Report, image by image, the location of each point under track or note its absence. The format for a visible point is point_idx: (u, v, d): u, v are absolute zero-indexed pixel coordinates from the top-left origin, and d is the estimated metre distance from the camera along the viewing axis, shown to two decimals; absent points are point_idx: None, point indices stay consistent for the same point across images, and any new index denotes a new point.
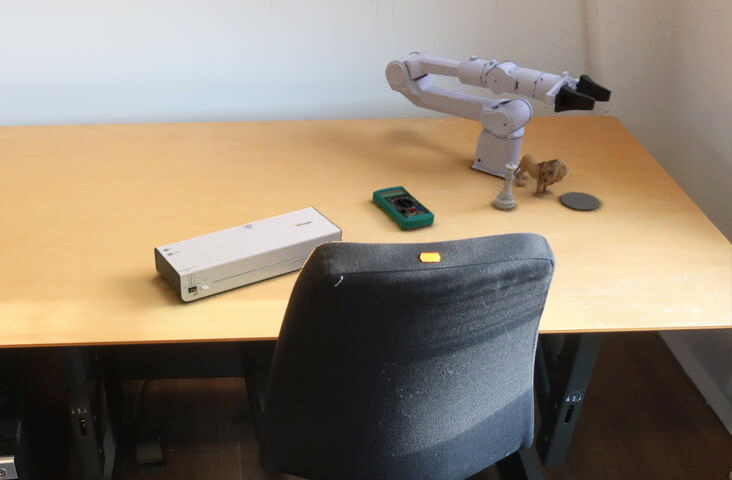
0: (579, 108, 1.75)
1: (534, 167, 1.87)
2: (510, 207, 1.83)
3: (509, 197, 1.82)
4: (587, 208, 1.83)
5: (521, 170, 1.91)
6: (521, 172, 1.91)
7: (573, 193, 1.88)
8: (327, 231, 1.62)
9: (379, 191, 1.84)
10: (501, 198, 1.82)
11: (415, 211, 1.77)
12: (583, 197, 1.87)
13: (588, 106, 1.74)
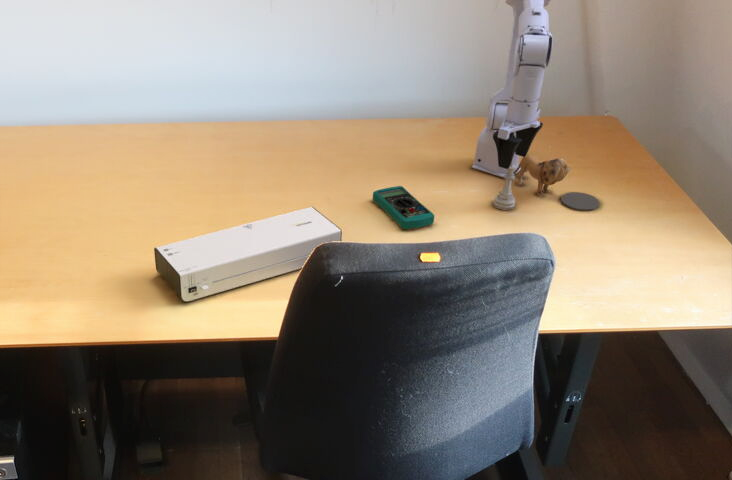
0: (498, 155, 1.74)
1: (535, 166, 1.87)
2: (510, 207, 1.83)
3: (509, 197, 1.82)
4: (587, 208, 1.83)
5: (522, 170, 1.91)
6: (522, 172, 1.91)
7: (573, 193, 1.88)
8: (327, 231, 1.62)
9: (379, 191, 1.84)
10: (501, 198, 1.82)
11: (415, 211, 1.77)
12: (583, 197, 1.87)
13: (501, 163, 1.75)
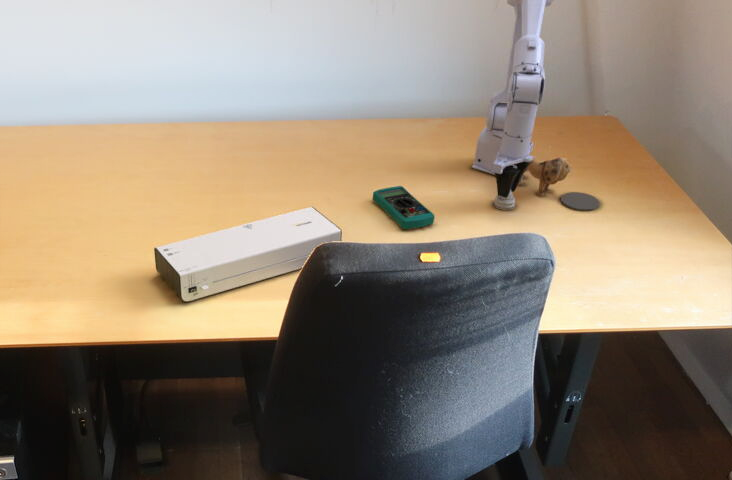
0: (497, 184, 1.80)
1: (537, 166, 1.87)
2: (510, 207, 1.83)
3: (509, 197, 1.82)
4: (587, 208, 1.83)
5: None
6: None
7: (573, 193, 1.88)
8: (327, 231, 1.62)
9: (379, 191, 1.84)
10: (501, 198, 1.82)
11: (415, 211, 1.77)
12: (583, 197, 1.87)
13: (500, 192, 1.81)
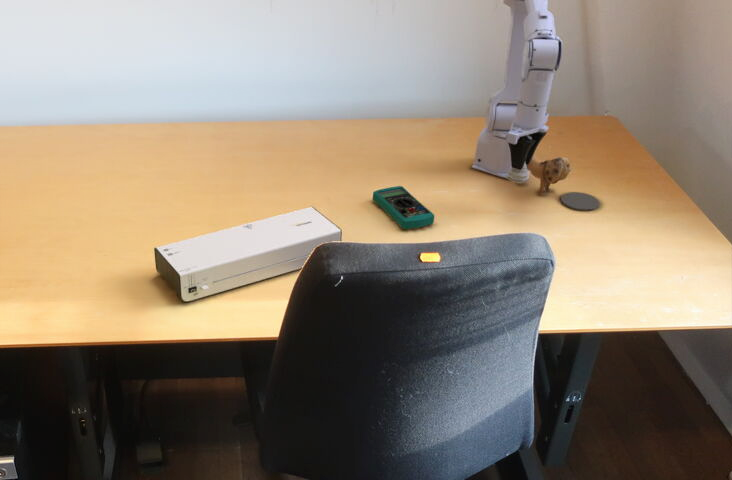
0: (512, 156, 1.75)
1: (537, 166, 1.87)
2: (524, 180, 1.78)
3: (523, 170, 1.77)
4: (587, 208, 1.83)
5: None
6: None
7: (573, 193, 1.88)
8: (327, 231, 1.62)
9: (379, 191, 1.84)
10: (515, 170, 1.77)
11: (415, 211, 1.77)
12: (583, 197, 1.87)
13: (514, 164, 1.76)
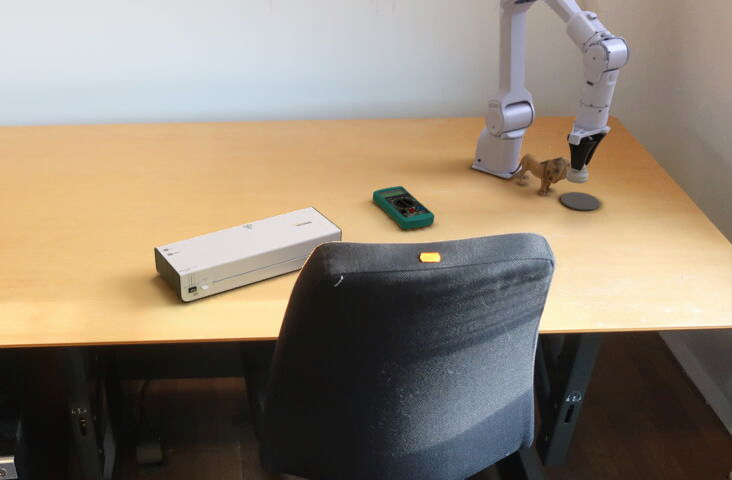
0: (572, 157, 1.75)
1: (538, 166, 1.87)
2: (584, 181, 1.77)
3: (583, 171, 1.77)
4: (587, 208, 1.83)
5: (523, 169, 1.91)
6: (523, 171, 1.91)
7: (573, 193, 1.88)
8: (327, 231, 1.62)
9: (379, 191, 1.84)
10: (575, 171, 1.77)
11: (415, 211, 1.77)
12: (583, 197, 1.87)
13: (574, 165, 1.76)
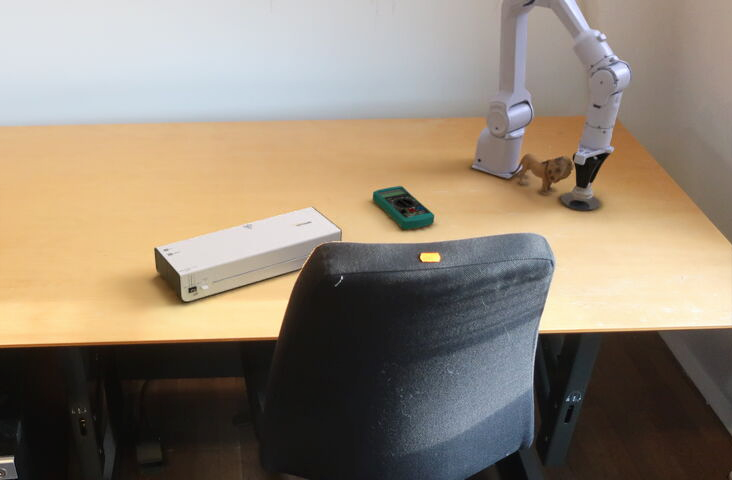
0: (577, 175, 1.81)
1: (539, 165, 1.87)
2: (588, 198, 1.83)
3: (588, 188, 1.83)
4: (587, 208, 1.83)
5: (524, 169, 1.91)
6: (524, 171, 1.91)
7: None
8: (327, 231, 1.62)
9: (379, 191, 1.84)
10: (580, 189, 1.83)
11: (415, 211, 1.77)
12: None
13: (579, 183, 1.82)
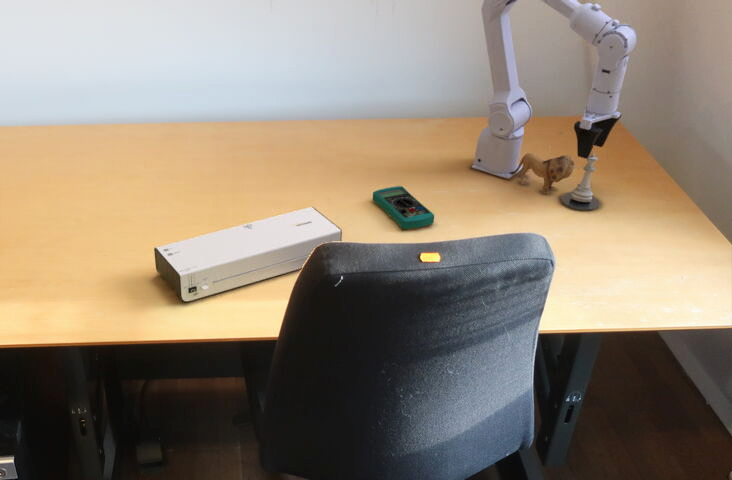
0: (578, 145, 1.80)
1: (540, 165, 1.87)
2: (588, 199, 1.83)
3: (588, 190, 1.83)
4: (587, 208, 1.83)
5: (525, 169, 1.91)
6: (525, 171, 1.91)
7: None
8: (327, 231, 1.62)
9: (379, 191, 1.84)
10: (580, 190, 1.83)
11: (415, 211, 1.77)
12: None
13: (581, 153, 1.80)
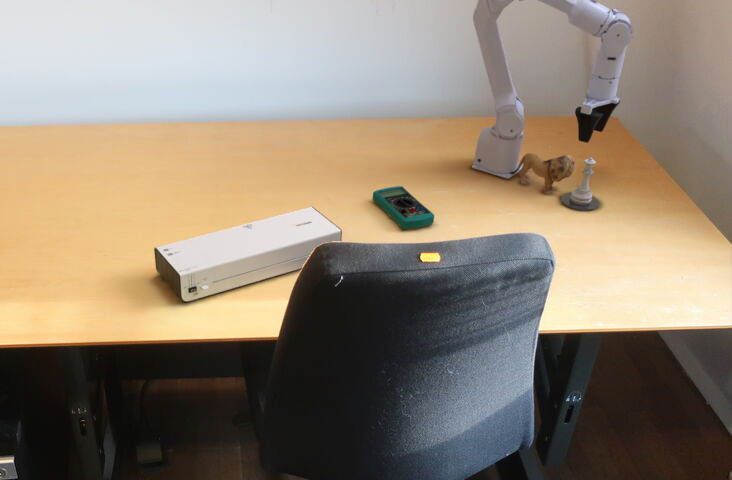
0: (579, 130, 1.86)
1: (541, 165, 1.88)
2: (587, 202, 1.84)
3: (587, 192, 1.83)
4: (587, 208, 1.83)
5: (525, 169, 1.91)
6: (525, 171, 1.91)
7: None
8: (327, 231, 1.62)
9: (379, 191, 1.84)
10: (579, 193, 1.83)
11: (415, 211, 1.77)
12: None
13: (581, 137, 1.87)
